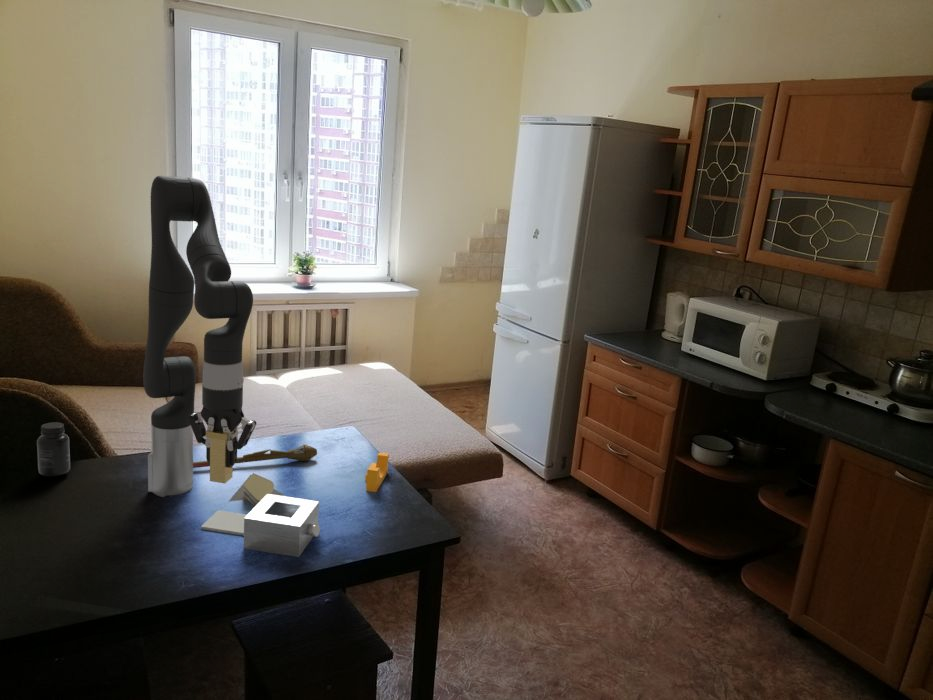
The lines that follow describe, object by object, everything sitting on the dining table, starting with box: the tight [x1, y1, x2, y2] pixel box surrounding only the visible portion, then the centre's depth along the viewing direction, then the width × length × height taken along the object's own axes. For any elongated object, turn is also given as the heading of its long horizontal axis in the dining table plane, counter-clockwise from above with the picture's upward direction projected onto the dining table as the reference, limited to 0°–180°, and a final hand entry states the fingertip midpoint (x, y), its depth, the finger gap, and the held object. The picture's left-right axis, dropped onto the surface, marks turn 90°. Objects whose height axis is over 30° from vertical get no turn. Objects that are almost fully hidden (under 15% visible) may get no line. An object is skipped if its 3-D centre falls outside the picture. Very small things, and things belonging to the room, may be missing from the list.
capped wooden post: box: [206, 430, 235, 484], centre depth 142 cm, size 4×4×11 cm
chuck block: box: [243, 494, 321, 558], centre depth 153 cm, size 14×12×7 cm
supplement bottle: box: [36, 421, 71, 477], centre depth 174 cm, size 7×7×12 cm
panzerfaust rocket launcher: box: [193, 444, 318, 469], centre depth 189 cm, size 5×35×5 cm, turn 113°
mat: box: [200, 509, 248, 537], centre depth 158 cm, size 10×8×1 cm
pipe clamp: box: [365, 452, 390, 493], centre depth 185 cm, size 12×4×6 cm, turn 172°
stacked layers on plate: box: [228, 472, 285, 507], centre depth 170 cm, size 10×9×6 cm
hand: (221, 464), depth 143 cm, fingers closed on capped wooden post, 3 cm apart
